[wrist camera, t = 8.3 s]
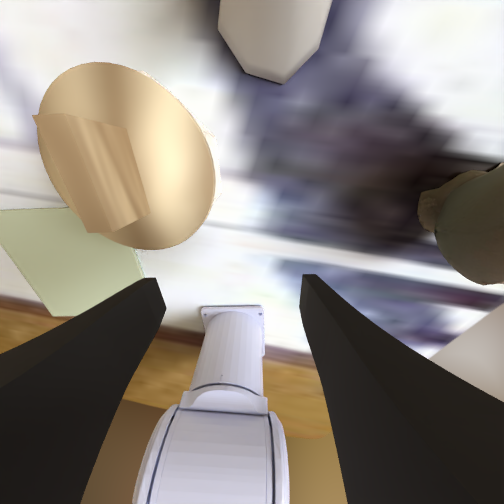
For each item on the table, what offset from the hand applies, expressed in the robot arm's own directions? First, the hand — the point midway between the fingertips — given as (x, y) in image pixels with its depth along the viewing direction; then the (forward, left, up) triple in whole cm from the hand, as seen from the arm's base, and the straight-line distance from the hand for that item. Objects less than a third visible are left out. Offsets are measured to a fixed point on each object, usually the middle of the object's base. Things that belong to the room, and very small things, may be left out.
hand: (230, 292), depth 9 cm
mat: (-5, +19, -10) cm, 22 cm away
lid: (+5, +7, -7) cm, 11 cm away
